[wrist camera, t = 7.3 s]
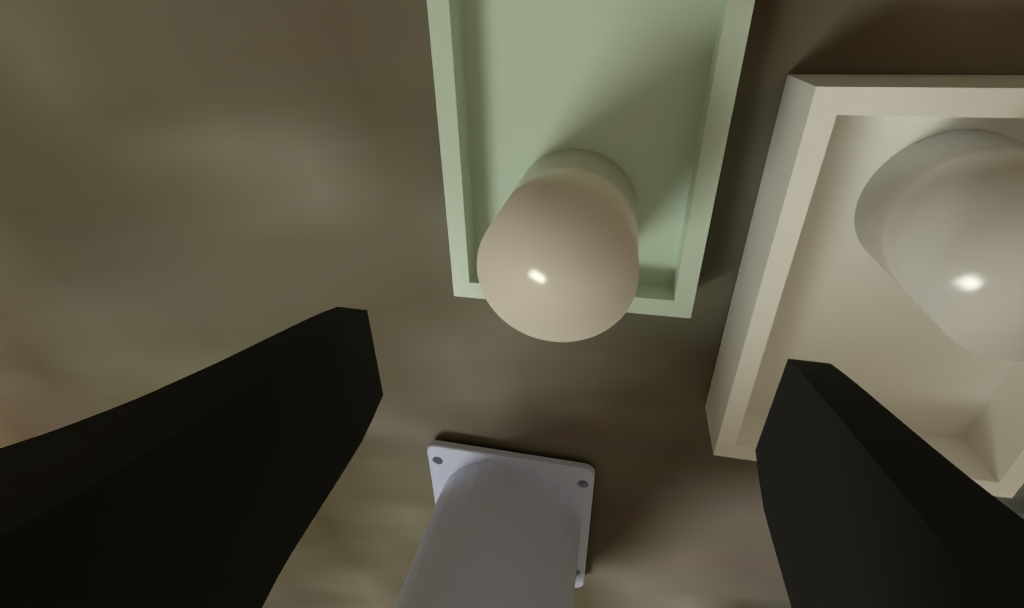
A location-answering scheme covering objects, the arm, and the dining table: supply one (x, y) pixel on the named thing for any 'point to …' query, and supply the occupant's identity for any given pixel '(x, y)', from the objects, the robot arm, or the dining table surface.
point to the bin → (862, 275)
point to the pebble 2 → (954, 234)
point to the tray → (590, 116)
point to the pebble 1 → (563, 248)
